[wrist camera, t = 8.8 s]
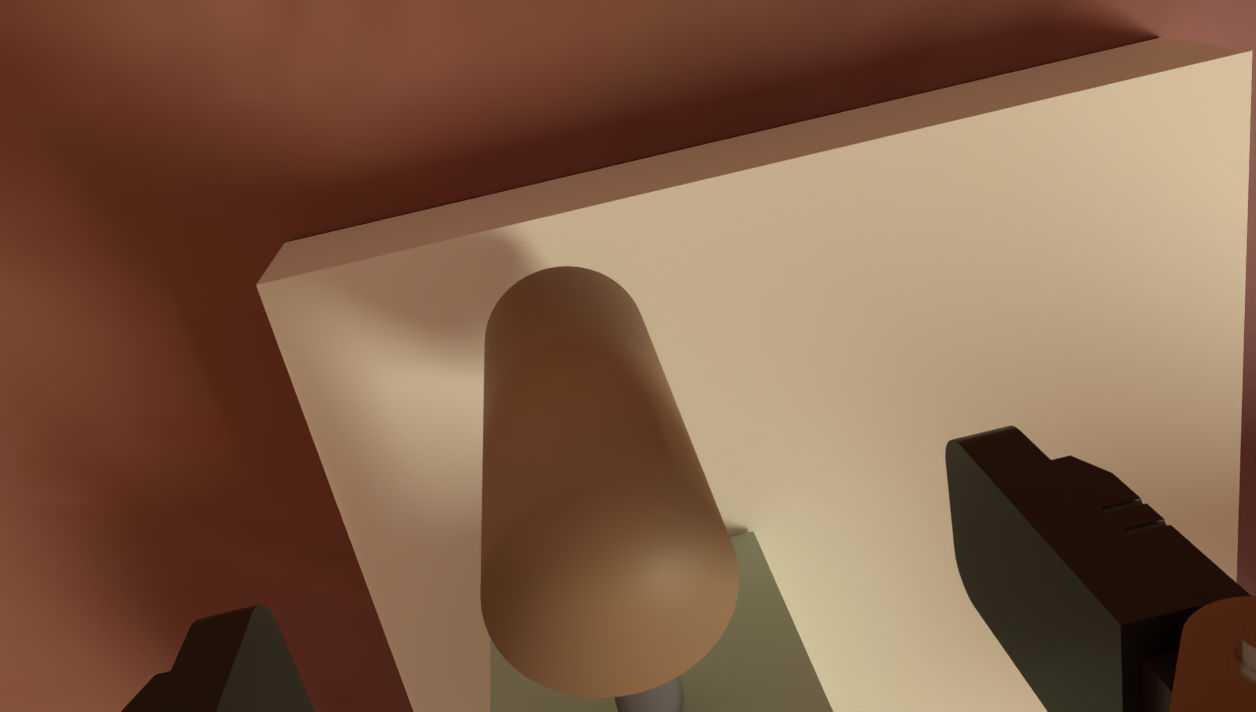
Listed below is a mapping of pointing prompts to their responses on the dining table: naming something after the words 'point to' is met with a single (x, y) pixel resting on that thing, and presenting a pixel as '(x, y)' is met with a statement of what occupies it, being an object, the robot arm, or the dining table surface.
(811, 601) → the shelf
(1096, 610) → the robot arm
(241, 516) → the dining table surface
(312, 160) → the dining table surface
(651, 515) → the pull block
